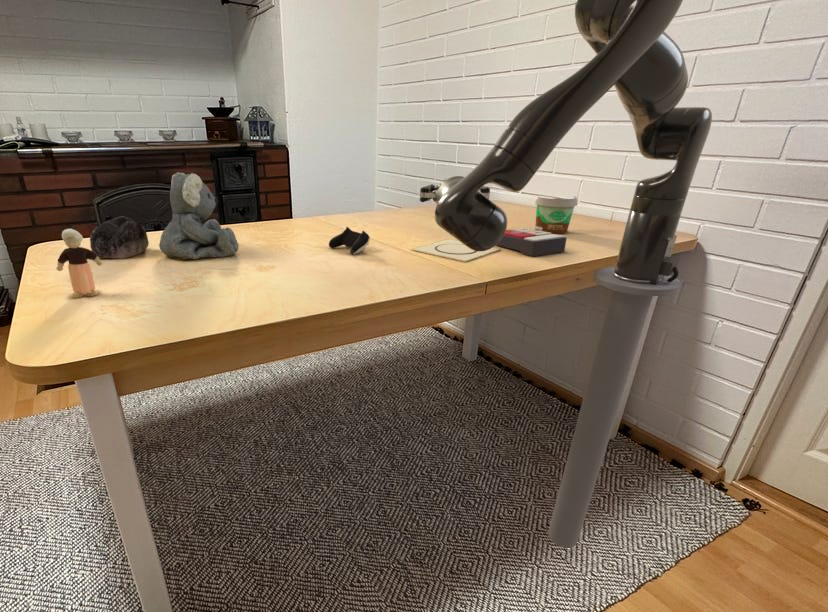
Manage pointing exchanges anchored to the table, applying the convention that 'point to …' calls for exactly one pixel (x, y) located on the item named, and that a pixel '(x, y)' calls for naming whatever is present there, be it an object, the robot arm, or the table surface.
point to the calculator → (533, 241)
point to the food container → (554, 214)
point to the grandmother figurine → (78, 264)
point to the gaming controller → (351, 240)
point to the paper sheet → (453, 250)
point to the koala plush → (194, 222)
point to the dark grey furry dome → (118, 238)
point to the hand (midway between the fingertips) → (450, 188)
